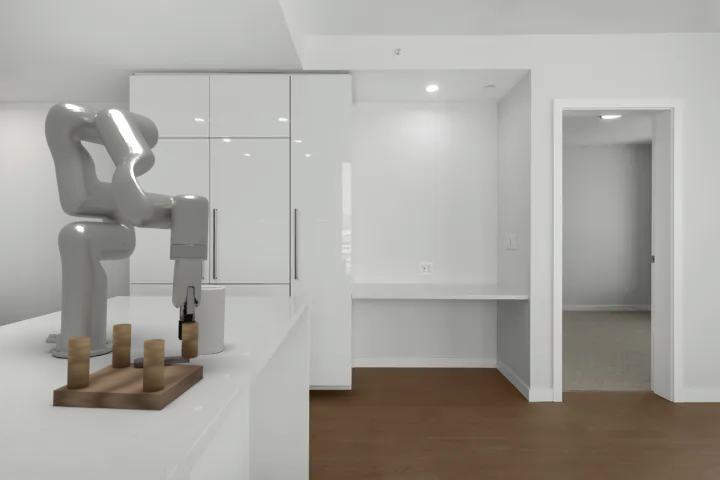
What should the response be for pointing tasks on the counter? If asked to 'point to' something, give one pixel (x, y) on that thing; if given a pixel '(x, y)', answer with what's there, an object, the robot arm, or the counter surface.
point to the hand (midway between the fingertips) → (186, 338)
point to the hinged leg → (188, 346)
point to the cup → (211, 319)
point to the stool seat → (124, 376)
